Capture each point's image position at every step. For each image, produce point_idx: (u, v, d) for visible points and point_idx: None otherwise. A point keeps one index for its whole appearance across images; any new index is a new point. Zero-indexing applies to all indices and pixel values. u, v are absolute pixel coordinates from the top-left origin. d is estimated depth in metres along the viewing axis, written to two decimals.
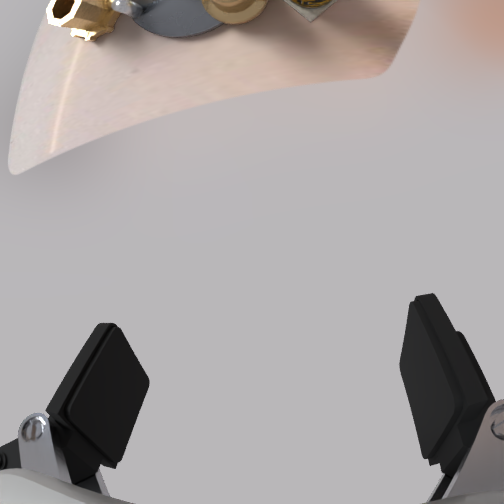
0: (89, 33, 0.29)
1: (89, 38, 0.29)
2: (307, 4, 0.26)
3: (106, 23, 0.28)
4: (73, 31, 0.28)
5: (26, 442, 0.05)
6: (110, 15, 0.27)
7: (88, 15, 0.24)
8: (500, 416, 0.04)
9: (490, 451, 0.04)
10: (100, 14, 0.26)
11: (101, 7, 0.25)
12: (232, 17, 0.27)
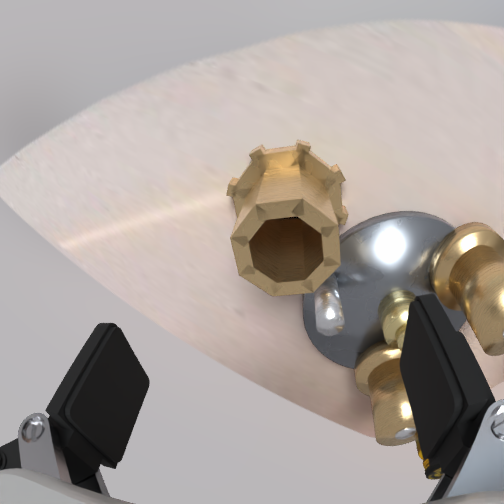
0: None
1: None
2: None
3: None
4: (234, 185, 0.20)
5: (26, 442, 0.05)
6: None
7: None
8: (500, 416, 0.04)
9: (490, 451, 0.04)
10: None
11: None
12: (364, 388, 0.27)
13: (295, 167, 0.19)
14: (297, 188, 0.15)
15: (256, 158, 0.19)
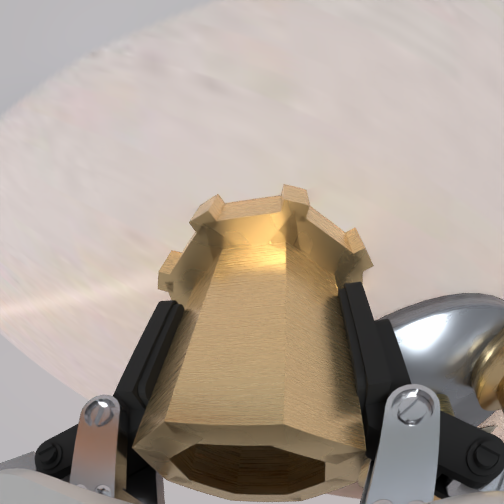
0: None
1: None
2: None
3: None
4: (170, 273, 0.11)
5: (92, 427, 0.06)
6: None
7: None
8: (404, 403, 0.05)
9: (388, 433, 0.05)
10: None
11: None
12: None
13: (278, 250, 0.10)
14: (276, 356, 0.06)
15: (203, 228, 0.10)
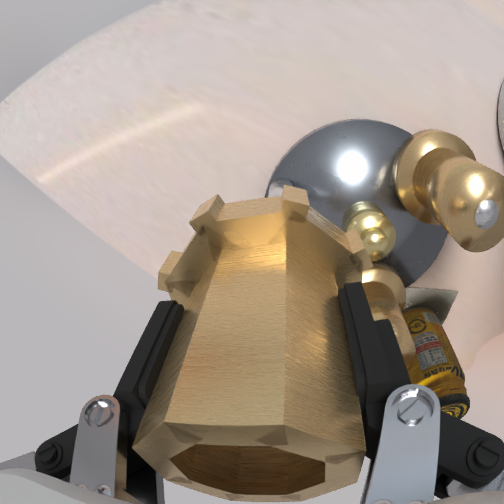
0: None
1: None
2: None
3: None
4: (169, 273, 0.11)
5: (92, 427, 0.06)
6: None
7: None
8: (404, 403, 0.05)
9: (388, 433, 0.05)
10: None
11: None
12: None
13: (278, 250, 0.10)
14: (276, 356, 0.06)
15: (203, 229, 0.10)
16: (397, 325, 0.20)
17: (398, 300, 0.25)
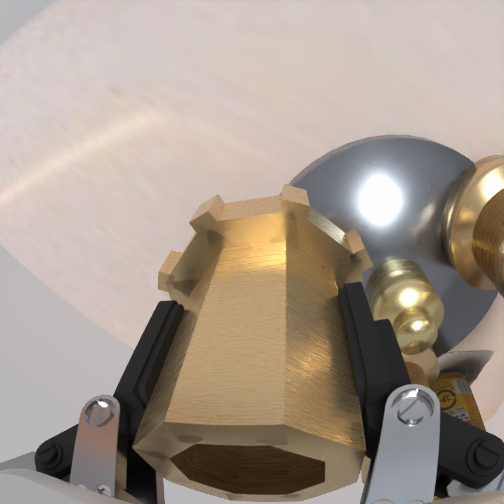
0: None
1: None
2: None
3: None
4: (170, 273, 0.11)
5: (92, 427, 0.06)
6: None
7: None
8: (403, 403, 0.05)
9: (387, 433, 0.05)
10: None
11: None
12: None
13: (278, 250, 0.10)
14: (276, 355, 0.06)
15: (203, 229, 0.10)
16: None
17: (428, 378, 0.17)
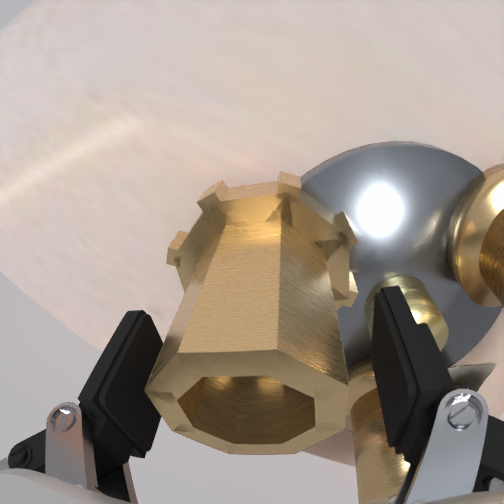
0: None
1: None
2: None
3: None
4: (178, 249, 0.13)
5: (56, 433, 0.06)
6: None
7: None
8: (455, 407, 0.05)
9: (443, 439, 0.04)
10: None
11: None
12: (345, 422, 0.18)
13: (274, 226, 0.11)
14: (271, 301, 0.07)
15: (209, 208, 0.12)
16: None
17: None
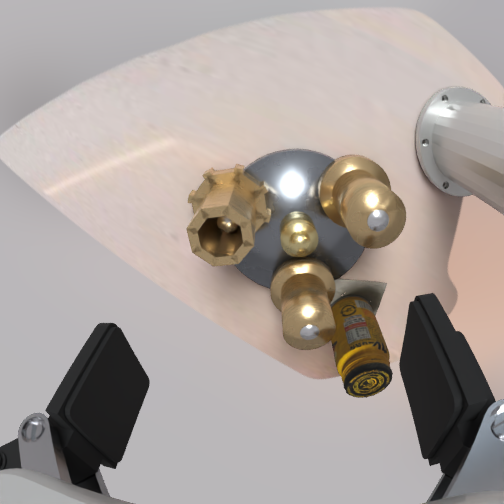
0: None
1: None
2: None
3: None
4: (193, 196, 0.30)
5: (26, 442, 0.05)
6: None
7: None
8: (500, 416, 0.04)
9: (490, 451, 0.04)
10: None
11: None
12: (280, 305, 0.35)
13: (232, 184, 0.28)
14: (227, 199, 0.25)
15: (207, 177, 0.29)
16: (318, 304, 0.28)
17: (328, 288, 0.34)
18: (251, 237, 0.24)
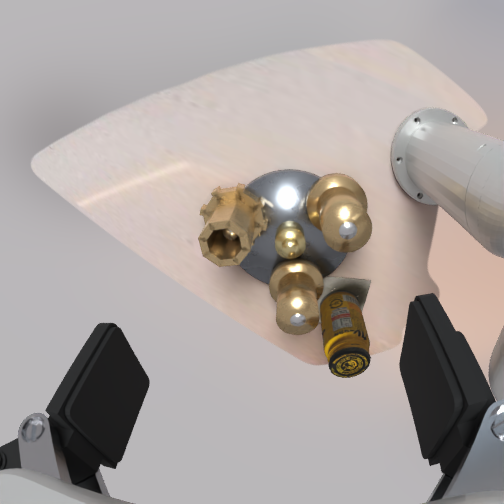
0: None
1: None
2: None
3: None
4: (204, 209, 0.37)
5: (26, 442, 0.05)
6: None
7: None
8: (500, 416, 0.04)
9: (490, 451, 0.04)
10: None
11: None
12: (277, 298, 0.42)
13: (235, 200, 0.36)
14: (229, 214, 0.32)
15: (215, 195, 0.36)
16: (305, 297, 0.35)
17: (318, 284, 0.41)
18: (248, 244, 0.32)
